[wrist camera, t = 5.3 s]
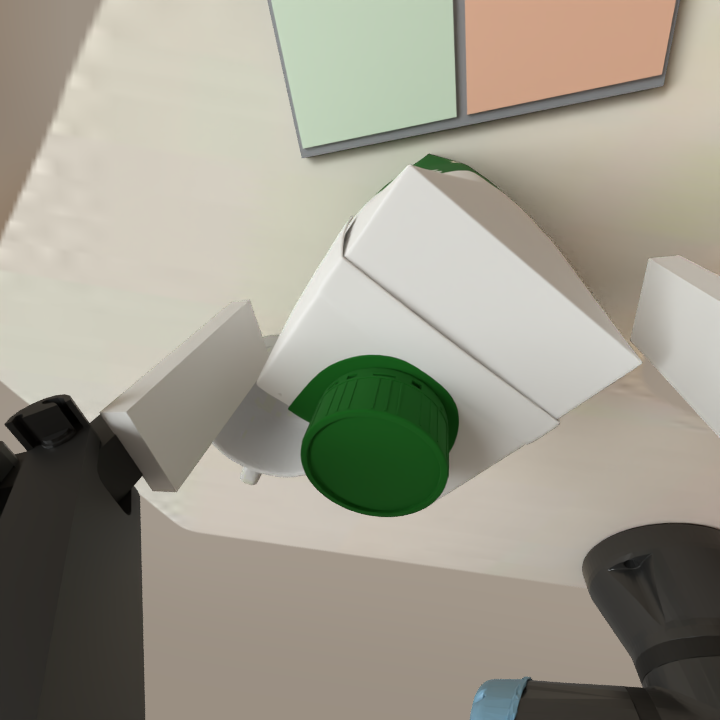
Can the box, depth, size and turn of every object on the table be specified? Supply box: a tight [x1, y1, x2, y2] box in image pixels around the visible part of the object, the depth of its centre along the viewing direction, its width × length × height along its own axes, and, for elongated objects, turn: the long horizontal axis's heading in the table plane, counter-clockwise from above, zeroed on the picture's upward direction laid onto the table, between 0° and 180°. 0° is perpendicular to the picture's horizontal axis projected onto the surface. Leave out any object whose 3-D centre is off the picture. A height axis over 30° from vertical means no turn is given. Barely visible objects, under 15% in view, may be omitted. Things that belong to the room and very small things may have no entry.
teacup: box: [212, 335, 309, 485], centre depth 31 cm, size 14×11×8 cm
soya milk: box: [257, 154, 642, 517], centre depth 17 cm, size 9×9×20 cm
